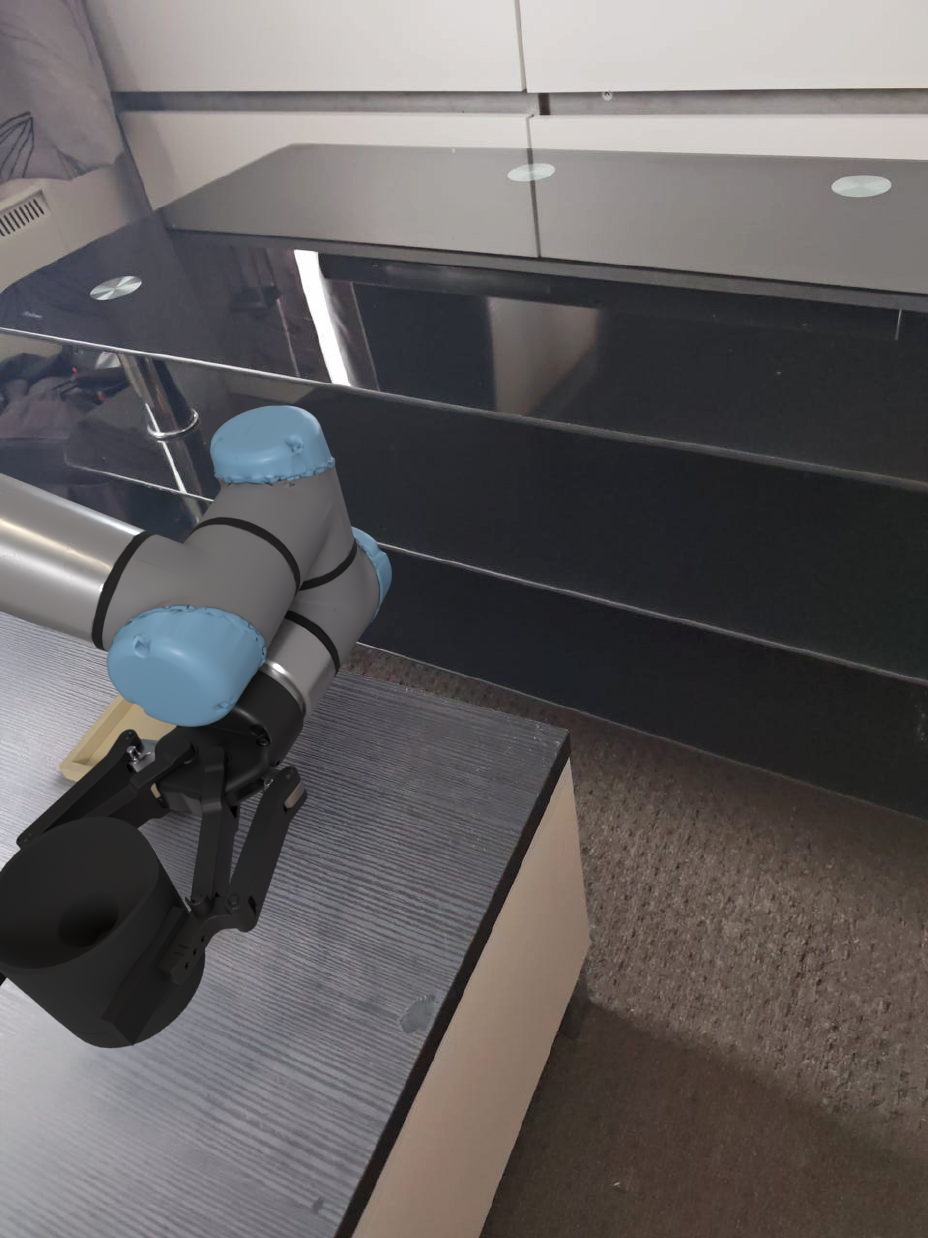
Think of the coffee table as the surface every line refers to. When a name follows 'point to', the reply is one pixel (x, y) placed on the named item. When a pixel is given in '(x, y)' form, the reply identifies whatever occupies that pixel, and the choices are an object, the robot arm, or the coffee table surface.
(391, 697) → the coffee table surface
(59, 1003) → the pen holder
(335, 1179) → the coffee table surface
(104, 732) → the pad
